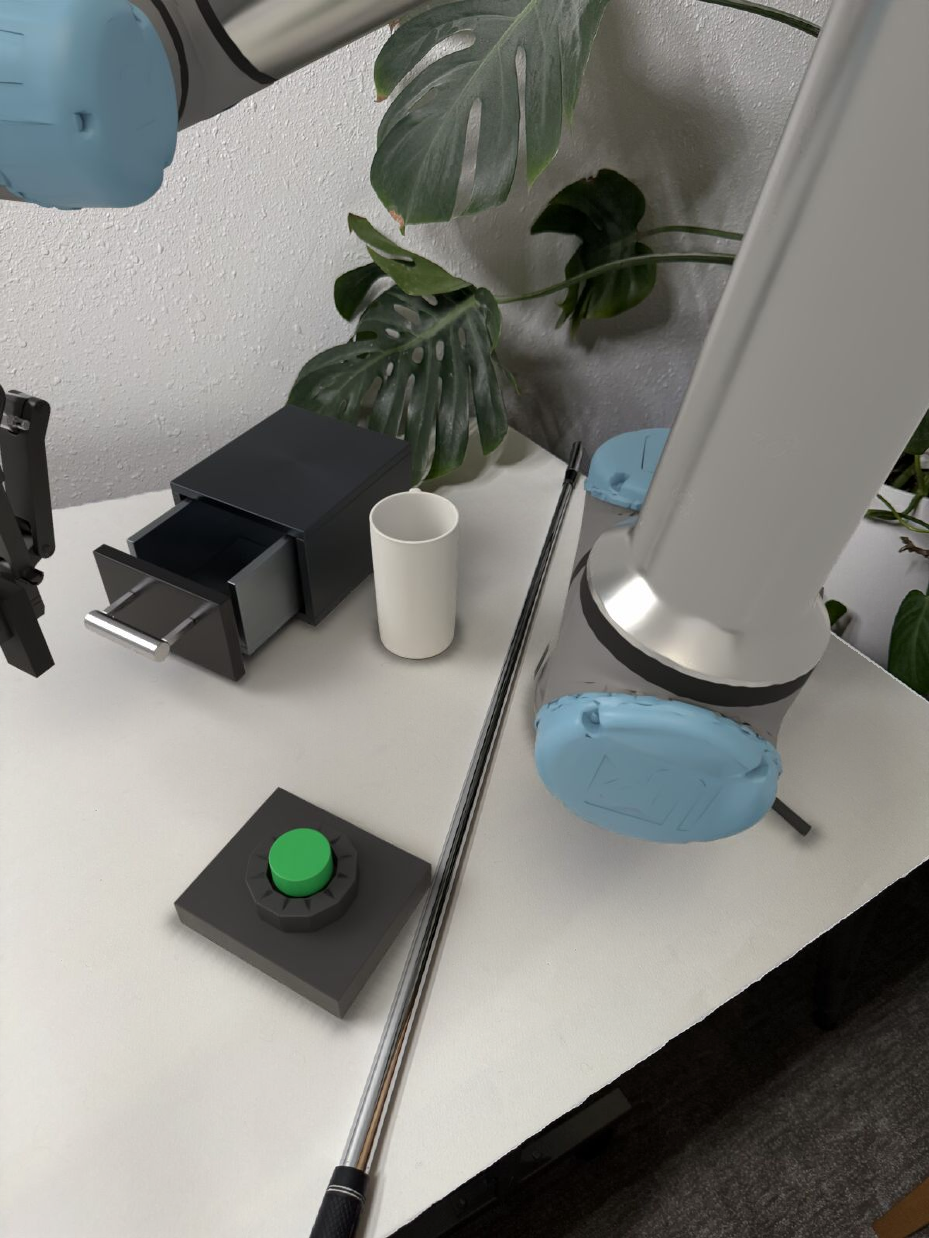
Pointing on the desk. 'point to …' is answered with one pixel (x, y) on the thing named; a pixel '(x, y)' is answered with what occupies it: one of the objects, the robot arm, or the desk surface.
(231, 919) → the control block
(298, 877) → the button
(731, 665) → the robot arm
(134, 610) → the drawer
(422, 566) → the mug
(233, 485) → the cabinet
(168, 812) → the desk surface
